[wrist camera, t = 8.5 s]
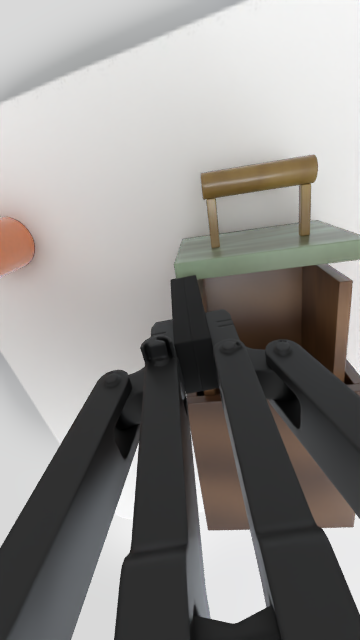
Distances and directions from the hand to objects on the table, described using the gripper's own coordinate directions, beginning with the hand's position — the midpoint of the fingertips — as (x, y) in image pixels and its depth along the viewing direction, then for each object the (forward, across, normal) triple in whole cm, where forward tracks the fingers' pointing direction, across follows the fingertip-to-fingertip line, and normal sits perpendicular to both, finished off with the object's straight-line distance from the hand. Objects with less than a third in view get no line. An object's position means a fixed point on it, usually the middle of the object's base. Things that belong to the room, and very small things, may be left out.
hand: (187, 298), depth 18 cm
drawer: (+9, -6, +4) cm, 11 cm away
